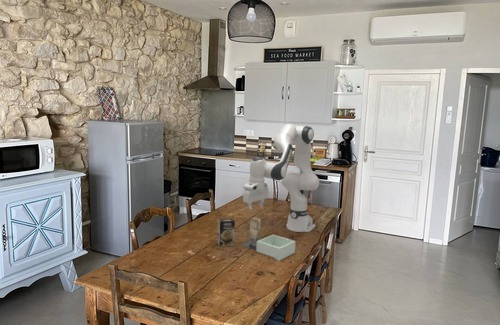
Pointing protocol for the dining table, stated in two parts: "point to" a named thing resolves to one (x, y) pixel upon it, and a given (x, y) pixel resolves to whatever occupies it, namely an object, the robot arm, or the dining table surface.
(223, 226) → the coffee box
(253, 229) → the strut
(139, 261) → the dining table surface
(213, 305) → the dining table surface
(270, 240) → the bin
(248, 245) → the stud plate
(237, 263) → the dining table surface
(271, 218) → the dining table surface
